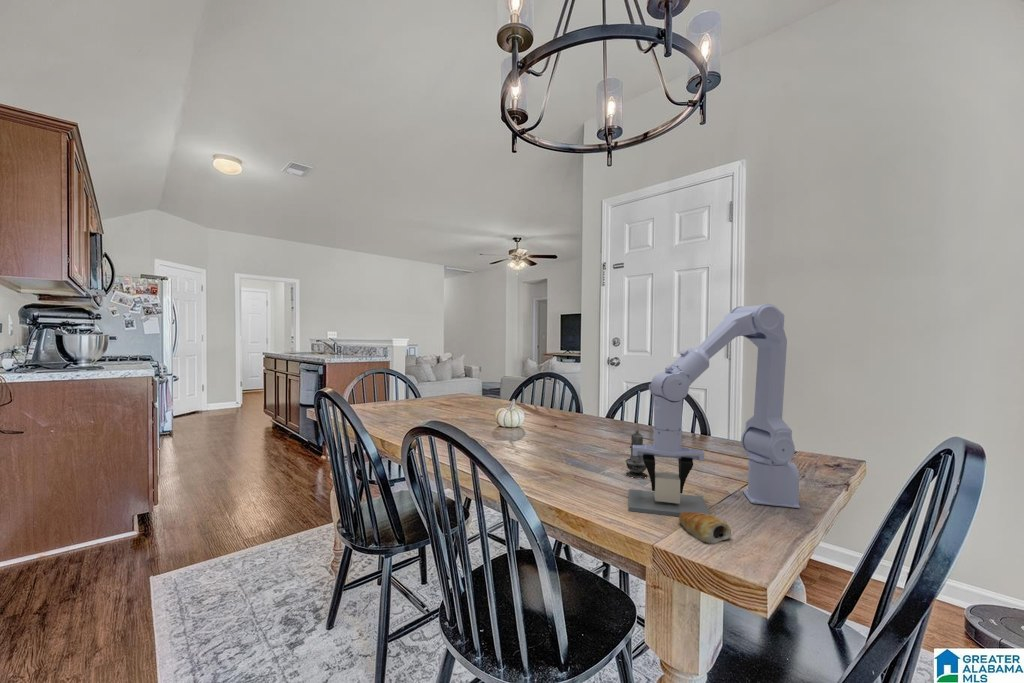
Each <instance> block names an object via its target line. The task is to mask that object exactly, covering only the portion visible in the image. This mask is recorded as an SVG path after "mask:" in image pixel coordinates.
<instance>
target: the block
mask: <svg viewBox="0 0 1024 683" xmlns="http://www.w3.org/2000/svg"><path fill="white" fill-rule="evenodd" d="M653 492H654V497H655V501H660V502H669V503H678V504H680V494H681V493H680V478H679V472H671V471H670V472H669V471H661V470H660V471H659V470H655V491H653Z"/></svg>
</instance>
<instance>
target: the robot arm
mask: <svg viewBox="0 0 1024 683" xmlns="http://www.w3.org/2000/svg"><path fill="white" fill-rule="evenodd" d="M737 337H743V338H746V339H748V340H749V341H751V342H752V344H754V345H755V346H756V347H757V358H756V359H757V360H756V375H755V376H756V377H755V391H754V392H755V393H754V405H753V406H754V408H753V415H752V416H751V417H750V418H749V419H747V420H746V422H745V428H744V431H743V433H742V435H741V438H740V439H741V440H740V444H741V446H742V448H743V449H744V450H745V452H746V457H748V463H747V464H748V466H747V469H748V472H747V476H748V477H747V488H746V489H745V488H744V489H742V492H743V494H744V495H745V497H746V498H747V500H748V501H749V502H750V504H757V505H765V506H774V507H784V508H785V507H786V508H793V509H795V508H796V509H800V508H801V505H800V503H799V502H800V497H799V496H800V475H799V474H800V473H799V469H798V467H797V465H796V463H794V462H792V461H791V460H792V459H793V457H794V455H795V451H796V450H795V449H796V448H795V447H796V446H795V444H794V440H793V431H792V429H791V428H790V427H789V425H788V424H787V423H786V422H785V420H783V409H784V408H783V407H784V395H785V394H784V393H785V375H786V363H787V349H788V348H787V345H788V340H787V336H786V333H785V314H784V312H782V311H781V310H780V309H779V308H778V307H777V306H776V305H774V304H771V303H763V304H759V305H757V304H756V305H747V306H736V307H734V308H733V309H731V311H730V312H729V313H727V314H725V315H724V317H723V320H722V321H721V322H720V324H719V325H718V326H717V327H716V328H715V329H714V330H713V331H712V332H711V333H710V334H709V335H708V336H707V337H706V338H705V339H704V340H703V341H702V342H701V343H700V345H698V347H697V348H688V349H683V350H682V351H680V353H679V357H678V358H677V359H676V360H675V361H674V362H673V363H671V364H670V365H667V366H666V367H665V370H664V372H658V373H656V374H655V375H654V376H653V377H652V379H651V382H650V383H649V384H648V389H649V391H650V393H651V395H652V396H653V444H643V445H633V456H638V455H642V456H643V461H644V464H645V466H646V470H647V473H648V476H649V479H650V483H651V484H650V485H651V491H653V492H654V491H655V471H656V457H657V458H666V459H667V458H668V459H669V458H670V459H678V475H679V478H680V494H683V490H684V487H685V483H686V480H687V479H688V476H689V473H690V472H691V470H692V468H693V467H694V461H693V460H695V461H699V462H705V451H704V450H703V449H696V448H689V447H682V446H683V444H682V443H683V442H682V441H683V440H682V437H683V435H682V433H683V425H682V424H683V399H684V398H686V397H687V395H688V394H689V389H690V386H691V385H692V384H693V383H694V382H695V381H696V380H697V379H698V378H699V377H700V376H701V375H702V374H703V373H705V371H707V370H708V369H709V368H710V359H712V358H713V357H714V356H716V354H717V353H719V352H720V351H721V350H722V349H723V348H725V347H726V346H727V345H728V344H729V343H731V342H732V341H733V340H734V339H735V338H737Z"/></svg>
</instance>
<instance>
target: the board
mask: <svg viewBox="0 0 1024 683" xmlns="http://www.w3.org/2000/svg"><path fill="white" fill-rule="evenodd" d="M627 511H628V512H633V513H644V514H652V515H654V514H655V515H661V516H662V515H663V516H670V517H677V518H679V516H680V514H681V513H684V512H695V513H704V514H709V515H712V514H711V512H710V510H709V507H708V506H707V503H706V501H705V500H704V497H703V496H701V495H690V494H683V493H682V494H681V493H680V504H678V503H669V502H660V501H655V497H654V491H652V490H641V489H633V488H628V510H627Z"/></svg>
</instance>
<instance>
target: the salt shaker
mask: <svg viewBox="0 0 1024 683" xmlns="http://www.w3.org/2000/svg"><path fill="white" fill-rule="evenodd" d="M643 439H644V437H643V435H642V434H641V433H639V431H638V429H637V430H635V433H633V434H632V435H631V440H630V442H631V443H630V446H629V448H630V457H629V458H627V459H625V463H626V467H627V469H628V470H629V471H628V472H626V474H627V475H628V476H629V478H631V477H633V478H632V479H636V478H643V479H646V478H648V475H647V474H646V473H645V471H646V470H647V468H646V466H645V464H644V461H643V456H642V455H638V456H633V445H644V443H643V441H644V440H643ZM627 475H626V476H627ZM628 476H627V477H628ZM645 477H646V478H645Z"/></svg>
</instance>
